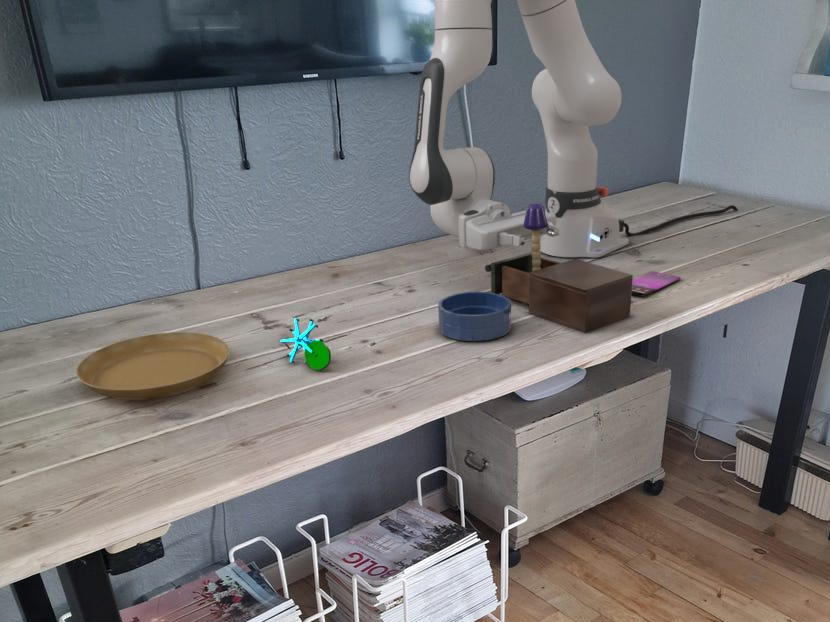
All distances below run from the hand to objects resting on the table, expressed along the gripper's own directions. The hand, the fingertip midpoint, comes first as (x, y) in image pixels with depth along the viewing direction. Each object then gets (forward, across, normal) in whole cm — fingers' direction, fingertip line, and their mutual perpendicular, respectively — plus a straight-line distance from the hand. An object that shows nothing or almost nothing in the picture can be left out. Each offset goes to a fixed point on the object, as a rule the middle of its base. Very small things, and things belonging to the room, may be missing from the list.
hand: (539, 236), depth 169 cm
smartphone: (+9, -23, -13) cm, 28 cm away
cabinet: (+11, 0, -13) cm, 17 cm away
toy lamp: (-1, 0, -11) cm, 11 cm away
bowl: (+3, +20, -13) cm, 24 cm away
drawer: (-3, 0, -12) cm, 12 cm away
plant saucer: (-17, +72, -13) cm, 75 cm away
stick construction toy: (-5, +49, -13) cm, 51 cm away
